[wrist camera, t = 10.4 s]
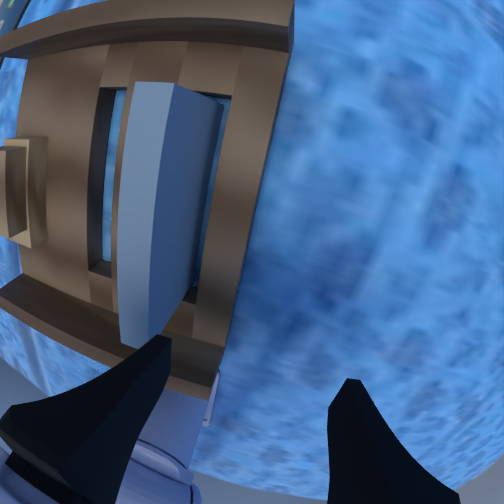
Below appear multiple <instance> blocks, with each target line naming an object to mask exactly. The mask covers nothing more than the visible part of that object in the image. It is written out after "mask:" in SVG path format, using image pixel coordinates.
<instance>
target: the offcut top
mask: <svg viewBox="0 0 504 504" xmlns="http://www.w3.org/2000/svg"><path fill="white" fill-rule="evenodd" d="M26 151H27V147H21V146H2V147H0V235H2V236H4V237H6V238H11V237H13V236H15V235H17V234H19V233H21V232H23V231H25V230H27V214H26Z"/></svg>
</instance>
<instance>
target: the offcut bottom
mask: <svg viewBox="0 0 504 504" xmlns="http://www.w3.org/2000/svg"><path fill="white" fill-rule="evenodd" d="M4 146H21V147H27V151H26V214H27V230H25V231H23V232H21V233H19V234H17V235H15V236H13V237H11V238H7V239H9V240H12V241H14V242H16V243H19V244H21V245H24V246H26V247H29V248H31V249H32V248H33V247H35V246H37V245H38V244H40V243H42V242H44V241H46V240H47V239H48V237H47V220H46V165H47V149H48V137H32V136H21V137H15V138H9V139H4Z"/></svg>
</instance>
